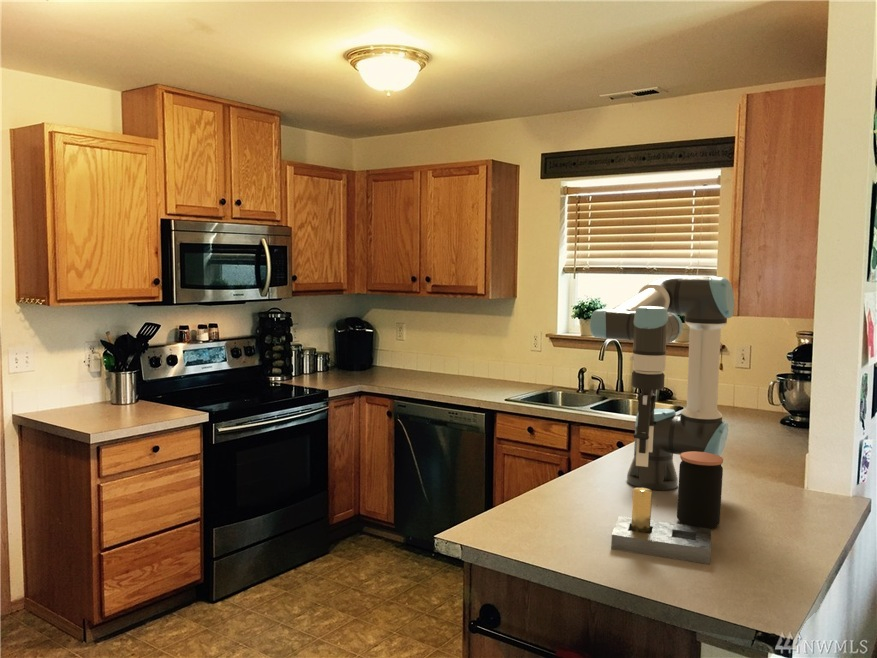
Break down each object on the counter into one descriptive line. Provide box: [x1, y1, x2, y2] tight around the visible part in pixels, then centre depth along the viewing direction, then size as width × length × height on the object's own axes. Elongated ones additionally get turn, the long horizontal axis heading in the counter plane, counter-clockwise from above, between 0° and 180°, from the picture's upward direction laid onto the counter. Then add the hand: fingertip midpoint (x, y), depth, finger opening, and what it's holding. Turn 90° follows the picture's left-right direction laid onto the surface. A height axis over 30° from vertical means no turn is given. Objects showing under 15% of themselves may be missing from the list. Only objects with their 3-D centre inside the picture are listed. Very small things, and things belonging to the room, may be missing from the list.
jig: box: [610, 515, 712, 565], centre depth 173 cm, size 14×22×4 cm, turn 69°
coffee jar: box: [676, 451, 724, 530], centre depth 188 cm, size 11×11×18 cm
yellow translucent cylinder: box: [631, 487, 653, 534], centre depth 174 cm, size 4×4×13 cm
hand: (644, 458), depth 173 cm, fingers open, 13 cm apart
